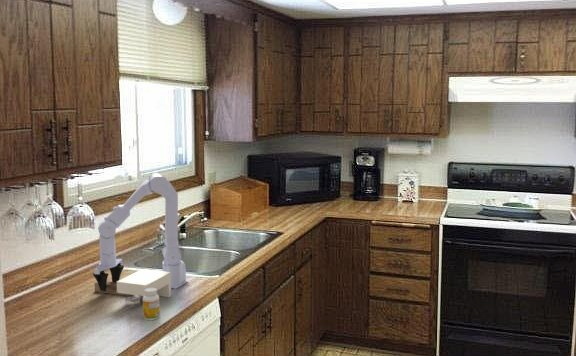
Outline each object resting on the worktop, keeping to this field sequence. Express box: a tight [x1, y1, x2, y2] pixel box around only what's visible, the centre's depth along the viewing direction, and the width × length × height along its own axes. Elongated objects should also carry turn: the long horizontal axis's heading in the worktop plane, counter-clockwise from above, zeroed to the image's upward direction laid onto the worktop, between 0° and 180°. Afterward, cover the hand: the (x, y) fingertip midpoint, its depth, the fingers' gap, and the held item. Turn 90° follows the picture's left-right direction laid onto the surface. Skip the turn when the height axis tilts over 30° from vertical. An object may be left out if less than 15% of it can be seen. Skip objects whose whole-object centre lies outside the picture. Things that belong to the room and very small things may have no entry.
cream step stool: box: [116, 268, 172, 298], centre depth 208 cm, size 16×12×9 cm
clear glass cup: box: [124, 296, 141, 307], centre depth 206 cm, size 5×5×2 cm
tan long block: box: [94, 281, 133, 297], centre depth 218 cm, size 3×16×4 cm, turn 71°
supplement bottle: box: [142, 288, 161, 321], centre depth 192 cm, size 5×5×10 cm
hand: (109, 287), depth 219 cm, fingers open, 7 cm apart
